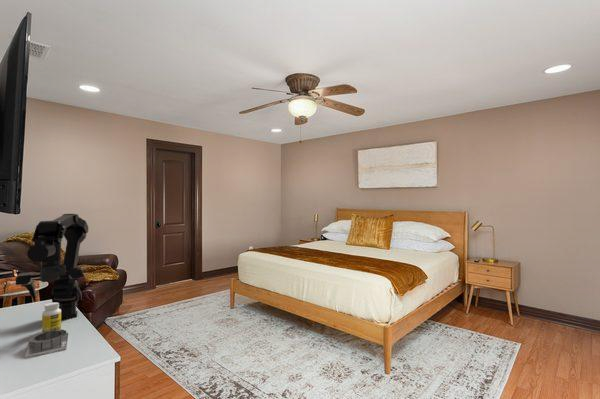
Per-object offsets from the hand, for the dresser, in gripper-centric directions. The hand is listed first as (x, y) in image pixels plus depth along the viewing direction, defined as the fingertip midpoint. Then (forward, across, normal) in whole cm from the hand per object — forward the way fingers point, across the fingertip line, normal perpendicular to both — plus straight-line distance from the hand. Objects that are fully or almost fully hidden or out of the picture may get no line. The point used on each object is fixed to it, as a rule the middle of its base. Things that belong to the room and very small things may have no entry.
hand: (51, 299), depth 114 cm
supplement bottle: (+12, 0, 0) cm, 12 cm away
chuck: (+11, 0, -13) cm, 17 cm away
